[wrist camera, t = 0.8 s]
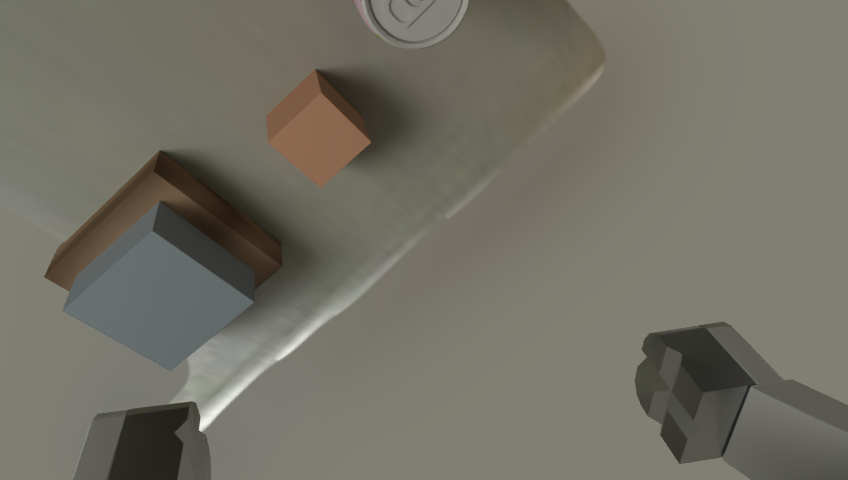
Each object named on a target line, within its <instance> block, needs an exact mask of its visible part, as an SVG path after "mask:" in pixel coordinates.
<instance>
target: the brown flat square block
mask: <svg viewBox="0 0 848 480" xmlns="http://www.w3.org/2000/svg"><path fill="white" fill-rule="evenodd" d="M159 201H161V202H162V203H163V204H165V205H166V206H167V207H169V208H170V209H171V210H173V211H174V212H176V213H177V214H178V215H180V216H181V217H182V218H184V219H185V220H186V221H188V222H189V223H190V224H192V225H193V226H195V227H196V228H197V229H199V230H200V231H201V232H203V233H204V234H205V235H207V236H208V237H209V238H211V239H212V240H214V241H215V242H216V243H218V244H219V245H220V246H222V247H223V248H224V249H226V250H227V251H228V252H230V253H231V254H233V255H234V256H235V257H237V258H238V259H239V260H241V261H242V262H243V263H245V264H246V265H247V266H249V267H250V268H251V269H253V270H254V273H255V289H256V288H257V287H259V286H260V285H261V284H262V283H263V282H264V281H265V280H267V279H268V278H269V277H270V276H271V275H272V274H274V273H275V272H276V271H277V270H278V269H279V268H281V267H282V256H281V242H279V241H278V240H277V239H275V238H274V237H273V236H271V235H270V234H269V233H268V232H266V231H265V230H264V229H262V228H261V227H260V226H258V225H257V224H256V223H254V222H253V221H252V220H251V219H249V218H248V217H247V216H245V215H244V214H243V213H241V212H240V211H239V210H237V209H236V208H235V207H233V206H232V205H231V204H230V203H228V202H227V201H226V200H224V199H223V198H222V197H220V196H219V195H218V194H216V193H215V192H214V191H212V190H211V189H210V188H209V187H207V186H206V185H205V184H203V183H202V182H201V181H199V180H198V179H197V178H195V177H194V176H193V175H191V174H190V173H189V172H188V171H186V170H185V169H184V168H182V167H181V166H180V165H178V164H177V163H176V162H174V161H173V160H172V159H171V158H169V157H168V156H167V155H165V154H164V153H163V152H161V151H159V152H158V153H156V154H155V155H154V156H153V157H152V158H151V159H150V160H149V161H148V162H147V163H146V164H145V165H144V166H143V167H142V168H141V169H140V170H139V171H138V172H137V173H136V174H135V175H134V176H133V177H132V178H131V179H130V180H129V181H128V182H127V183H126V184H125V185H124V186H123V187H122V188H120V189H119V190H118V191H117V192H116V193H115V194H114V195H113V196H112V197H111V198H110V199H109V200H108V201H107V202H106V203H105V204H104V205H103V206H102V207H101V208H100V209H99V210H98V211H97V212H96V213H95V214H94V215H93V216H92V217H91V218H90V219H89V220H88V221H87V222H86V223H84V224H83V225H82V226H81V227H80V228H79V229H78V230H77V231H76V232H75V233H74V234H73V235H72V236H71V237H70V238H69V239H68V240H67V241H66V242H63V243H62V244H61V245H60V246H59V247H58V249H57V251H56V253H55V255H54V257H53V259H52V261H51V264H50V265H49V268H48V270H47V272H46V274H45V276H44V277H45V278H47V279H49V280H50V281H52V282H54V283H56V284H58V285H59V286H61V287H63V288H65V289H66V290H68V291H70V290H71V287H72V285H73V282H74V280H75V277H76V276H77V275H78V274H79V273H80V272H81V271H82V270H83V269H84V268H85V267H87V266H88V265H89V264H90V263H91V262H92V261H93V260H94V259H95V258H97V257H98V256H99V255H100V254H101V253H102V252H103V251H104V250H105V249H107V248H108V247H109V246H110V245H111V244H112V243H113V242H114V241H115V240H117V239H118V238H119V237H120V236H121V235H122V234H123V233H124V232H125V231H127V230H128V229H129V228H130V227H131V226H132V225H133V224H134V223H135V222H137V221H138V220H139V219H140V218H141V217H142V216H143V215H144V214H145V213H147V212H148V211H149V210H150V209H151V208H152V207H153V206H154V205H155V204H157V203H158V202H159Z"/></svg>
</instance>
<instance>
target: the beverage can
mask: <svg viewBox="0 0 848 480" xmlns="http://www.w3.org/2000/svg"><path fill="white" fill-rule="evenodd" d="M352 1H353V3H354V4H355V6H356V8H357V9H358V11H359V13H360V15H361V16H362V18H363V20H364V21H365V23H366V24H367V25H368V27H369V28H370V29H371V31H372V32H373V33H375V34H376V35H377V36H378V37H379V38H381V39H382V40H384V41H386V42H388V43H390V44H392V45H394V46H396V47H400V48H403V49H413V50H418V49H424V48H429V47H431V46H434V45H436V44H439V43H440V42H442V41H443V40H445V39H446V38H448V37H449V36H450V35H451V34H452V33H453V32H454V31H455V30H456V29H457V28H458V26H459V25H460V23H461V22H462V20H463V19H464V17H465V14H466V12H467V10H468V7H469V3H470V0H352Z"/></svg>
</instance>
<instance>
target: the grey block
mask: <svg viewBox="0 0 848 480" xmlns="http://www.w3.org/2000/svg"><path fill="white" fill-rule="evenodd" d="M254 302H255V273H254V270H253V269H251V268H250V267H249V266H247V265H246V264H245V263H243V262H242V261H241V260H239V259H238V258H237V257H235V256H234V255H233V254H231V253H230V252H228V251H227V250H226V249H224V248H223V247H222V246H220V245H219V244H218V243H216V242H215V241H214V240H212V239H211V238H209V237H208V236H207V235H205V234H204V233H203V232H201V231H200V230H199V229H197V228H196V227H195V226H193V225H192V224H190V223H189V222H188V221H186V220H185V219H184V218H182V217H181V216H180V215H178V214H177V213H176V212H174V211H173V210H171V209H170V208H169V207H167V206H166V205H165V204H163V203H162V202H161V201H159V202H158V203H157V204H155V205H154V206H153V207H152V208H151V209H150V210H149V211H148V212H147V213H145V214H144V215H143V216H142V217H141V218H140V219H139V220H138V221H137V222H135V223H134V224H133V225H132V226H131V227H130V228H129V229H128V230H127V231H125V232H124V233H123V234H122V235H121V236H120V237H119V238H118V239H117V240H115V241H114V242H113V243H112V244H111V245H110V246H109V247H108V248H107V249H105V250H104V251H103V252H102V253H101V254H100V255H99V256H98V257H97V258H95V259H94V260H93V261H92V262H91V263H90V264H89V265H88V266H87V267H85V268H84V269H83V270H82V271H81V272H80V273H79V274H78V275H77V276H76V277H75V280H74V282H73V285H72V287H71V290H70V292H69V295H68V297H67V300H66V303H65V305H64V307H63V310H62V311H64V312H66V313H67V314H69V315H71V316H73V317H75V318H76V319H78V320H80V321H82V322H83V323H85V324H87V325H89V326H91V327H93V328H94V329H96V330H98V331H100V332H101V333H103V334H105V335H107V336H108V337H110V338H112V339H114V340H116V341H118V342H119V343H121V344H123V345H125V346H126V347H128V348H130V349H132V350H134V351H135V352H137V353H139V354H141V355H142V356H144V357H146V358H148V359H150V360H151V361H153V362H155V363H157V364H159V365H160V366H162V367H164V368H166V369H168V370H170V371H171V370H172V369H174V368H175V367H176V366H177V365H178V364H180V363H181V362H182V361H183V360H185V359H186V358H187V357H188V356H190V355H191V354H192V353H193V352H194V351H196V350H197V349H198V348H199V347H201V346H202V345H203V344H204V343H205V342H207V341H208V340H209V339H210V338H212V337H213V336H214V335H215V334H216V333H218V332H219V331H220V330H221V329H223V328H224V327H225V326H226V325H227V324H229V323H230V322H231V321H232V320H234V319H235V318H236V317H237V316H238V315H240V314H241V313H242V312H243V311H245V310H246V309H247V308H248V307H249V306H251V305H252V304H253V303H254Z"/></svg>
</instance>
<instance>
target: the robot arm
mask: <svg viewBox="0 0 848 480" xmlns="http://www.w3.org/2000/svg"><path fill="white" fill-rule="evenodd" d="M642 351H643V352H644V353H645V355H646V356H647V358H646V359H645V360H644V361H643V362H642V363H641V364H640V365H639V366H638V367H637V372H636V377H635V386H636V393H637V396H638V398H639V401H640V404H641V406H642V408H643V409H644V410H645V412H646V414H647V415H648V416H649V417H651V418H652V419H654V420H656V421H657V422H659V423H661V424H662V425H661V433H660V435H661V437H662V438H663V440H664V441H665V443H666V444H667V446H668V447H669V449H670V450H671V452H672V453H673V455H674V456H675V458H676V459H677V461H678V462H679V464H681V463H689V462H695V461H701V460H708V459H714V458H720V457H723V459H722V460H724V461H725V462H727V463H728V464H729V465H731V466H732V467H734V468H735V469H736V470H738V471H739V472H741V473H742V474H744V475H745V476H747V477H748V478H749V479H751V480H848V405H846V404H844V403H842V402H840V401H838V400H835V399H833V398H831V397H829V396H827V395H825V394H822V393H820V392H818V391H816V390H814V389H811V388H809V387H807V386H805V385H803V384H801V383H798V382H796V381H794V380H783V379H782V378H781V377H780V376H779V375H778V374H777V373H776V372H775V370H773V368H771V366H770V365H769V364H768V363H767V362H766V361H765V360H764V359H763V358H762V357H761V356H760V355H759V354H758V353H757V352H756V351H755V350H754V349H753V348H752V347H751V346H750V345H749V344H748V343H747V341H746V340H745V339H744V338H743V337H742V336H741V335H740V334H739V333H738V332H737V331H736V330H735V329H734V328H733V327H732V326H731V325H729V324H727V323H725V322H718V323H712V324H705V325H699V326H693V327H687V328H681V329H675V330H668V331H662V332H655V333H649V335H648V336H647V337H646V338H645V340H644V343H643V347H642ZM199 423H200V414H199V411H198V408H197V405H196V403H195V402H184V403H176V404H167V405H159V406H152V407H144V408H135V409H130V410H125V411H118V412H117V411H116V412H109V413H101V414H97V415H96V417H95V418H94V419H93V420H92V422H91V424H90V426H89V429H88V433H87V435H86V439H85V442H84V445H83V448H82V451H81V454H80V457H79V460H78V463H77V466H76V469H75V472H74V475H73V478H72V480H211V461H210V452H209V446H208V442H207V438H206V435H205V434H203V433H202V432H200V431H199Z"/></svg>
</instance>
